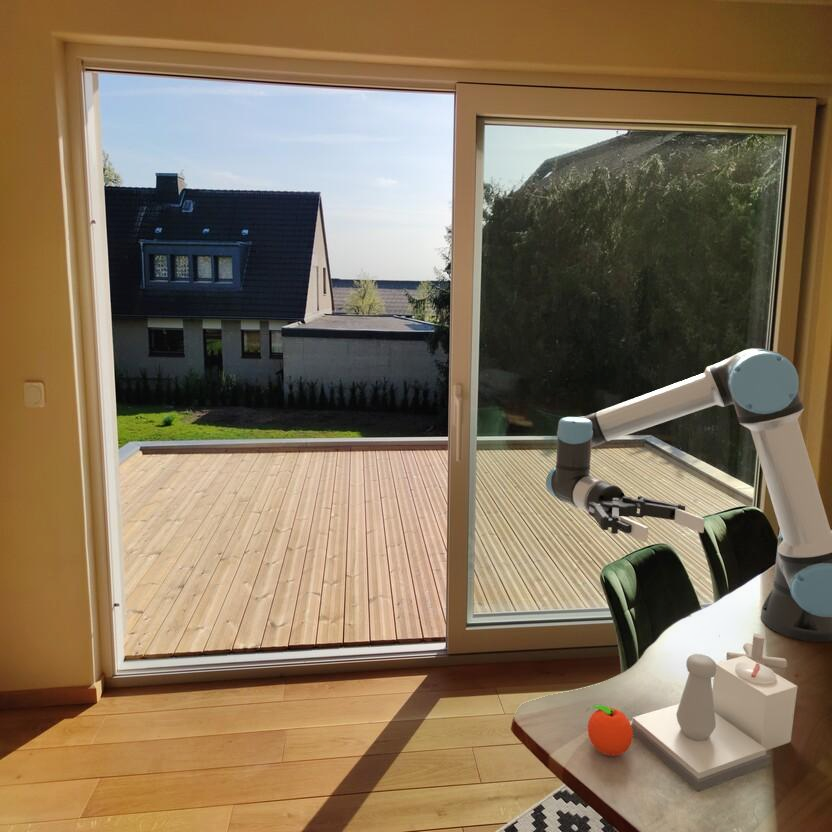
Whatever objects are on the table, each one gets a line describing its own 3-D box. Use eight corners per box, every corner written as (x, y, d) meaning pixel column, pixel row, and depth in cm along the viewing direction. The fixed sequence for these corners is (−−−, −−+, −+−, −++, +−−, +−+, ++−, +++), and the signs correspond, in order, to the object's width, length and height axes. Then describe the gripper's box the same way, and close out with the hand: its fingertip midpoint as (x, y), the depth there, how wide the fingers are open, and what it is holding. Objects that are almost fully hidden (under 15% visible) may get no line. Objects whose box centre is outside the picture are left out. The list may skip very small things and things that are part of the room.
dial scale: (727, 699, 117) (733, 643, 115) (804, 751, 103) (812, 689, 101) (627, 729, 108) (631, 670, 106) (697, 791, 94) (704, 724, 92)
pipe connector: (791, 704, 115) (798, 653, 114) (732, 696, 117) (737, 646, 116) (773, 674, 125) (778, 626, 123) (718, 667, 127) (723, 620, 125)
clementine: (571, 745, 104) (574, 705, 102) (596, 727, 108) (598, 689, 107) (616, 772, 98) (619, 730, 96) (639, 752, 102) (643, 712, 101)
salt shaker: (707, 750, 99) (715, 673, 97) (670, 733, 103) (676, 659, 101) (719, 732, 104) (726, 657, 101) (682, 717, 107) (689, 645, 105)
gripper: (643, 509, 142) (723, 541, 123) (549, 522, 132) (619, 558, 113) (646, 476, 141) (726, 503, 122) (551, 486, 131) (622, 518, 112)
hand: (675, 530), depth 117 cm, fingers open, 13 cm apart
